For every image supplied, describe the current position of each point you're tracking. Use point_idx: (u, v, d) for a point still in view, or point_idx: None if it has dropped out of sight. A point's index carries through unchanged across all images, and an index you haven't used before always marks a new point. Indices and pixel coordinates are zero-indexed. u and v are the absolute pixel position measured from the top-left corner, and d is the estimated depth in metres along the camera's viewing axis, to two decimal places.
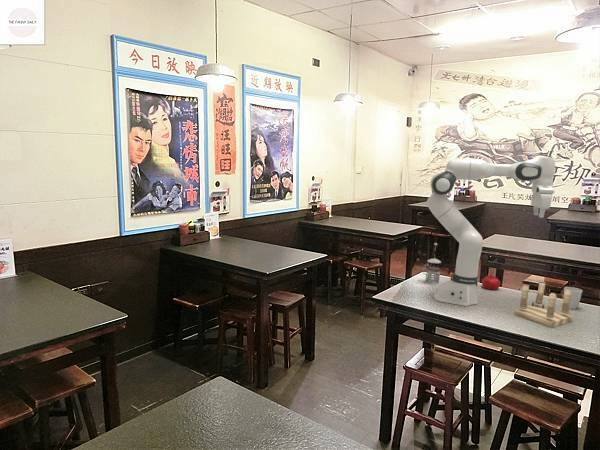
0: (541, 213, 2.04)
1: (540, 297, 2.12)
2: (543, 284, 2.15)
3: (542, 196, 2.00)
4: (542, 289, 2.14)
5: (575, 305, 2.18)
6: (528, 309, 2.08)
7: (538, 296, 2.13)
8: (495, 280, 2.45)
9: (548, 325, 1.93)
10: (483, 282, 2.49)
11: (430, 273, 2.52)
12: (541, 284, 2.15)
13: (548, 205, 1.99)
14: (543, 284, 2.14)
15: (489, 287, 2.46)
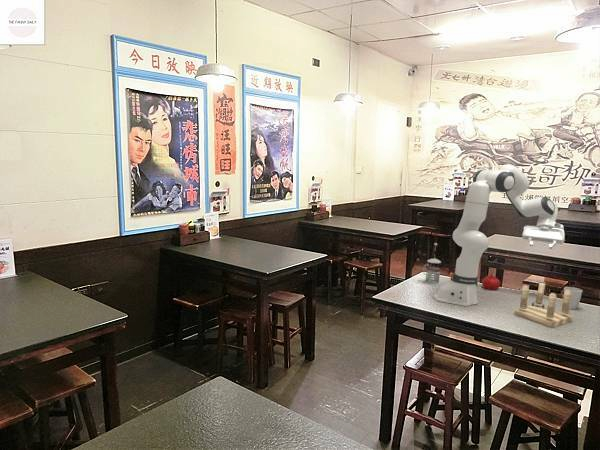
0: (553, 244, 2.25)
1: (540, 297, 2.12)
2: (543, 284, 2.15)
3: None
4: (542, 289, 2.14)
5: (575, 305, 2.18)
6: (528, 309, 2.08)
7: (538, 296, 2.13)
8: (495, 280, 2.45)
9: (548, 325, 1.93)
10: (483, 282, 2.49)
11: (430, 273, 2.52)
12: (541, 284, 2.15)
13: None
14: (543, 284, 2.14)
15: (489, 287, 2.46)
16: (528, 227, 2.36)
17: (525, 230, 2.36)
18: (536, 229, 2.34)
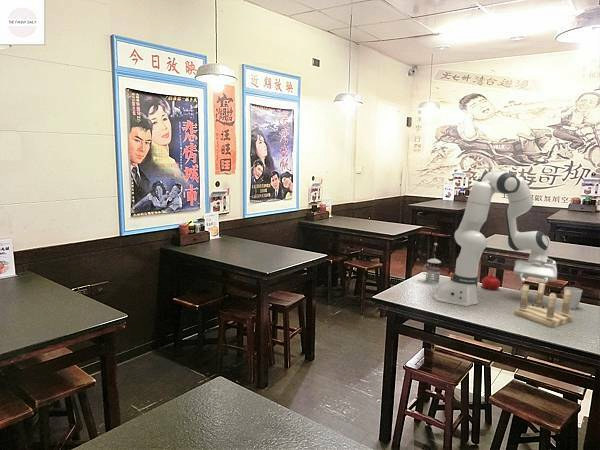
0: None
1: (540, 297, 2.12)
2: (543, 284, 2.14)
3: (556, 268, 2.18)
4: (542, 288, 2.14)
5: (575, 305, 2.18)
6: (528, 309, 2.08)
7: (538, 296, 2.13)
8: (495, 280, 2.45)
9: (548, 325, 1.93)
10: (483, 282, 2.49)
11: (430, 273, 2.52)
12: (541, 284, 2.15)
13: (556, 278, 2.18)
14: (543, 284, 2.14)
15: (489, 287, 2.46)
16: (520, 262, 2.28)
17: (516, 265, 2.28)
18: (528, 264, 2.25)
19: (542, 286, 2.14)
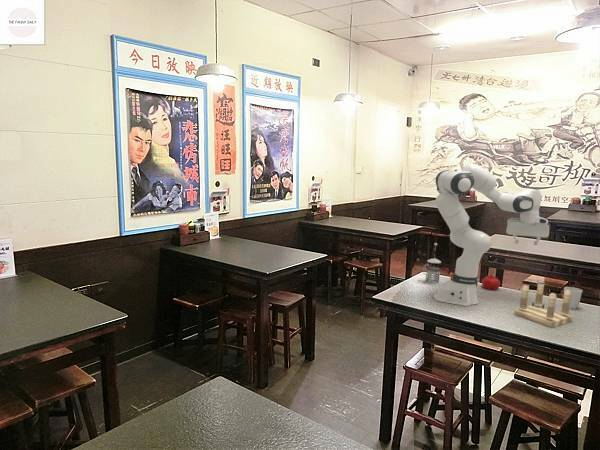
0: None
1: (539, 298, 2.11)
2: (542, 285, 2.10)
3: (548, 226, 2.20)
4: (541, 289, 2.10)
5: (575, 305, 2.18)
6: (528, 309, 2.08)
7: (537, 298, 2.11)
8: (495, 280, 2.45)
9: (548, 325, 1.93)
10: (483, 282, 2.49)
11: (430, 273, 2.52)
12: (540, 285, 2.10)
13: None
14: (542, 285, 2.09)
15: (489, 287, 2.46)
16: (512, 223, 2.25)
17: (510, 227, 2.26)
18: (521, 225, 2.24)
19: (541, 287, 2.10)
